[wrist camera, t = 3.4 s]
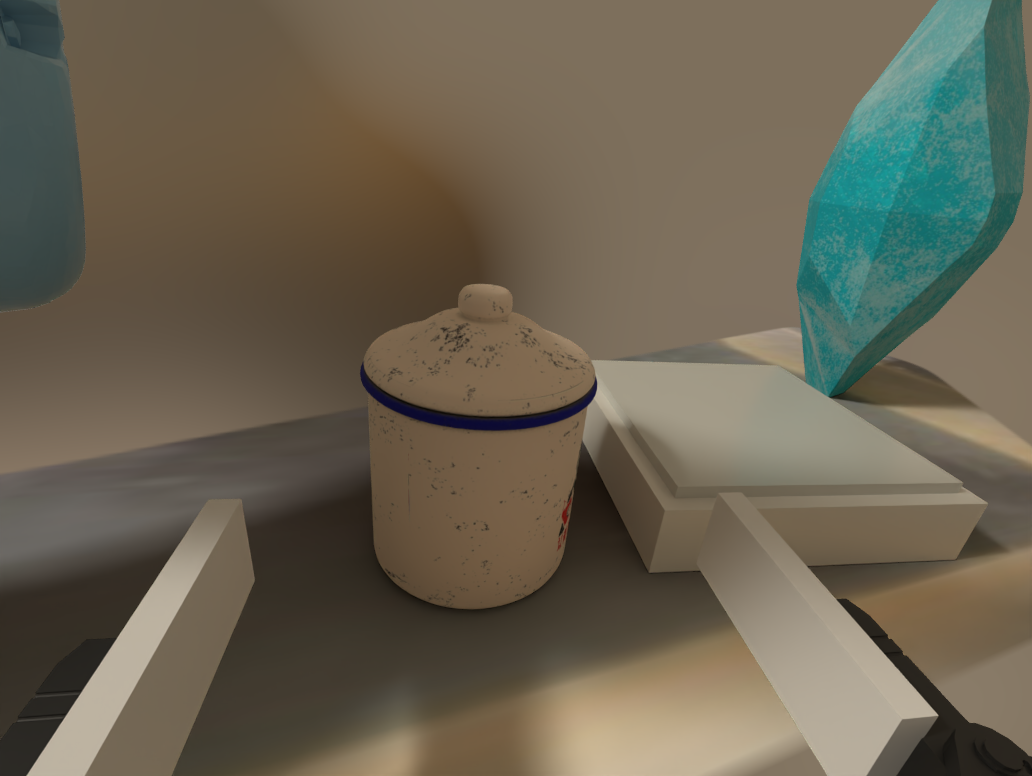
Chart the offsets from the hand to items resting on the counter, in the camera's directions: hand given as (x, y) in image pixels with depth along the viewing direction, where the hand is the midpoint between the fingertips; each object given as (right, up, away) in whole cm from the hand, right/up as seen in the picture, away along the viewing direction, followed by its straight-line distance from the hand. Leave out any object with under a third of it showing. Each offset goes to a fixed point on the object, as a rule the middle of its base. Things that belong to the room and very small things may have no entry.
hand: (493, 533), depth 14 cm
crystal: (+28, +4, +30) cm, 42 cm away
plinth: (+13, -1, +17) cm, 21 cm away
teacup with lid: (-2, -2, +10) cm, 11 cm away
